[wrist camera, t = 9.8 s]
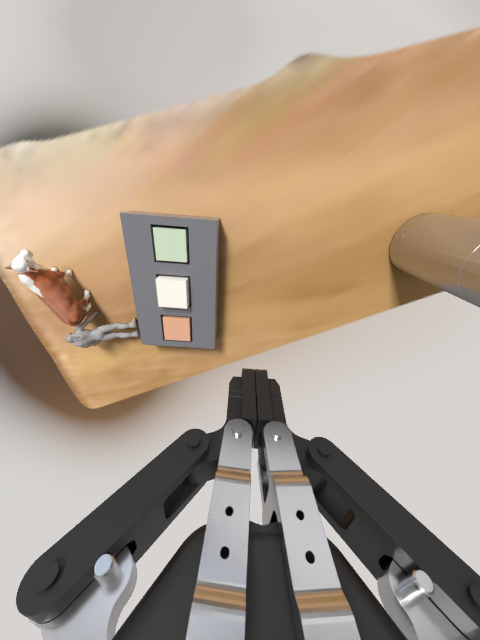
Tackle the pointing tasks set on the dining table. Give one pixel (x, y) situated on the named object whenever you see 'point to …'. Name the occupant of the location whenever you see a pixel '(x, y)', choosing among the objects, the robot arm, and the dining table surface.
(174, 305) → the cream button
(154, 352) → the dining table surface
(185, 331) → the terracotta button
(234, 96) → the dining table surface
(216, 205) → the dining table surface
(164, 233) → the sage button
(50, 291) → the bull figurine
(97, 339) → the grey human figurine
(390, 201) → the dining table surface
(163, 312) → the button panel
